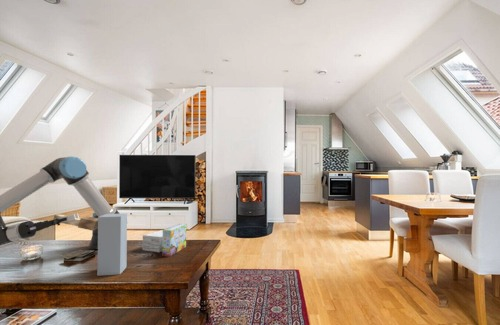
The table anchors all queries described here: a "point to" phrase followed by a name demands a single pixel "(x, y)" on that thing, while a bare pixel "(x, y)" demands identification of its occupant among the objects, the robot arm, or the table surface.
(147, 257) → the table surface
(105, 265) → the slate column
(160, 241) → the supplement box
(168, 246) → the snack box
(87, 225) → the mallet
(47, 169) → the robot arm
